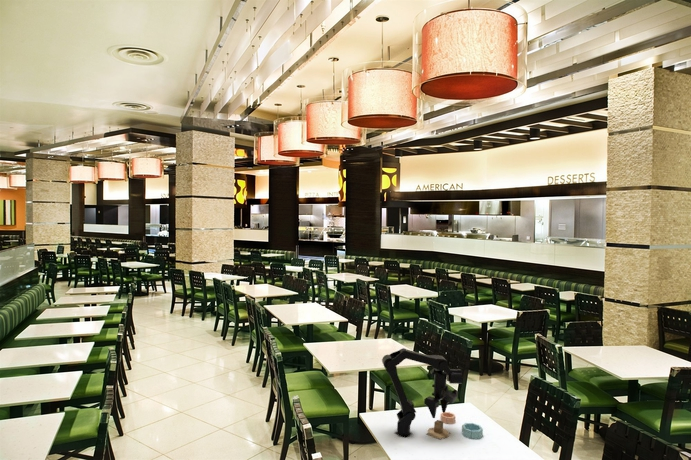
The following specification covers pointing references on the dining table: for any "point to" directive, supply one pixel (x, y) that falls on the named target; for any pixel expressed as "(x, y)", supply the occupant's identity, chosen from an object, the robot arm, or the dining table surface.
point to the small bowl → (447, 418)
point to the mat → (437, 438)
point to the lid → (438, 430)
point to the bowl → (472, 430)
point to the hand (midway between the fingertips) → (438, 415)
